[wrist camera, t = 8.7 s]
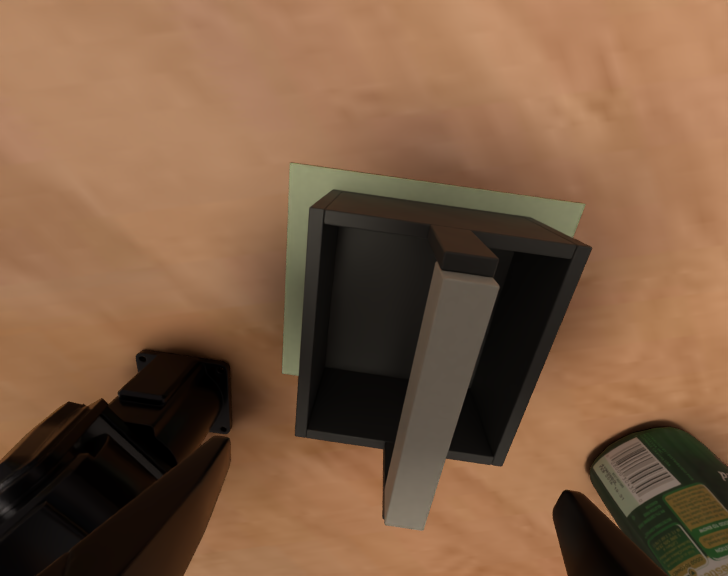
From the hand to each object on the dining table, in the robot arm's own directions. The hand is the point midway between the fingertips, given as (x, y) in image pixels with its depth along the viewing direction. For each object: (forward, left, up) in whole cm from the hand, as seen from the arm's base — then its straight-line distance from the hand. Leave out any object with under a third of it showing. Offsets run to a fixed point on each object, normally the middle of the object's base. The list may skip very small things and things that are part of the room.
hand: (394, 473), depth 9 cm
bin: (-1, -1, -13) cm, 13 cm away
